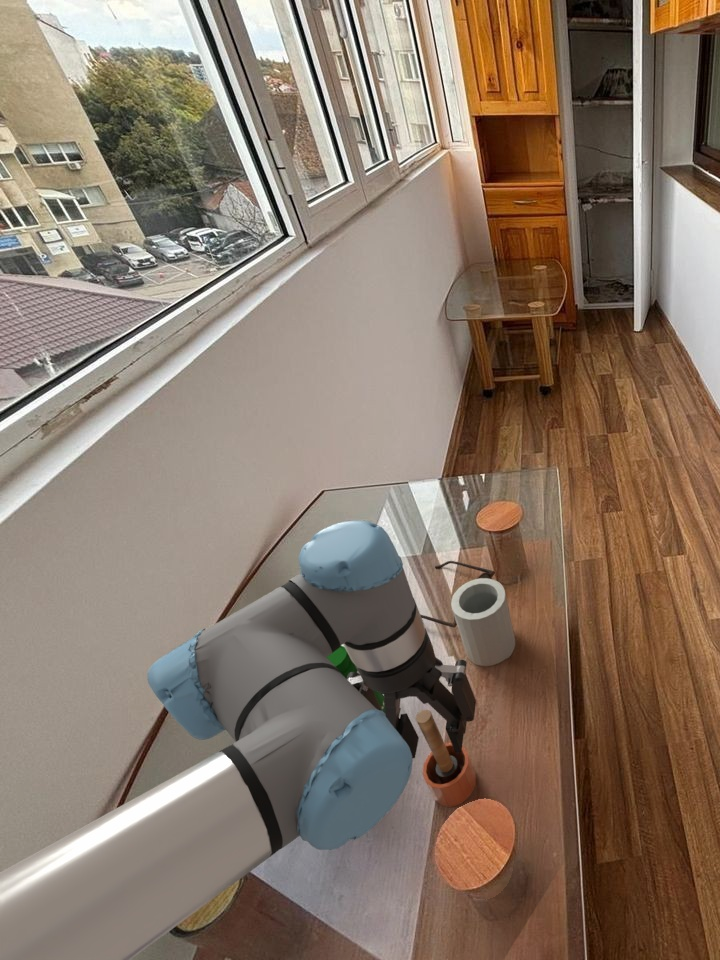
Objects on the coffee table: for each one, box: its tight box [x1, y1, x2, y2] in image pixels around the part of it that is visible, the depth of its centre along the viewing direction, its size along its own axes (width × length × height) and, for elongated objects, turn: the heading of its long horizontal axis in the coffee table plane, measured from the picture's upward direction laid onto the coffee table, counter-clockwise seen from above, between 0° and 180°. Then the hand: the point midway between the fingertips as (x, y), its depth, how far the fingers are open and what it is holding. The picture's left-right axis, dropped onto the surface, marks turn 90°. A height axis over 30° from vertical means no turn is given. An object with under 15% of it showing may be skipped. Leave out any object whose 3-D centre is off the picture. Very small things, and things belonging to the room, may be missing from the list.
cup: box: [450, 578, 516, 667], centre depth 92 cm, size 9×9×14 cm
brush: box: [415, 709, 462, 784], centre depth 71 cm, size 3×3×20 cm
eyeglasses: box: [420, 560, 496, 629], centre depth 103 cm, size 15×15×5 cm
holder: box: [422, 741, 477, 808], centre depth 75 cm, size 6×6×7 cm
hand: (436, 745), depth 69 cm, fingers open, 5 cm apart
